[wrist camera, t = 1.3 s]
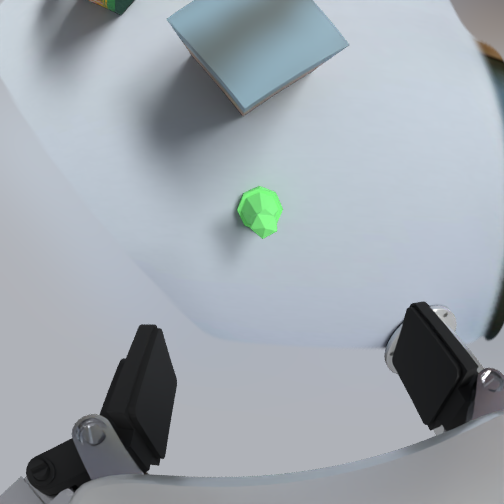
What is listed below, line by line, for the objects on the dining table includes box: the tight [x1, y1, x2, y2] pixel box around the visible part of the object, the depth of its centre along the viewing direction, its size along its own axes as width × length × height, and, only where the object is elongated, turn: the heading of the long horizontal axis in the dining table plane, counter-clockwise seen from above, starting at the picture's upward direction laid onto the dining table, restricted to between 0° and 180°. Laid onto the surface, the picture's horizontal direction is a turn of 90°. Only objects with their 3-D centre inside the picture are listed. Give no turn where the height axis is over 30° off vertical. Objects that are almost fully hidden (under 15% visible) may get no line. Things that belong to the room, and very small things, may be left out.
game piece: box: [237, 186, 283, 239], centre depth 26 cm, size 4×4×6 cm
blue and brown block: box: [167, 0, 349, 116], centre depth 18 cm, size 8×8×10 cm
